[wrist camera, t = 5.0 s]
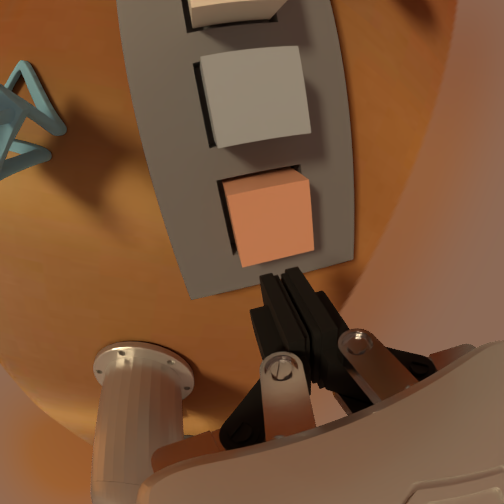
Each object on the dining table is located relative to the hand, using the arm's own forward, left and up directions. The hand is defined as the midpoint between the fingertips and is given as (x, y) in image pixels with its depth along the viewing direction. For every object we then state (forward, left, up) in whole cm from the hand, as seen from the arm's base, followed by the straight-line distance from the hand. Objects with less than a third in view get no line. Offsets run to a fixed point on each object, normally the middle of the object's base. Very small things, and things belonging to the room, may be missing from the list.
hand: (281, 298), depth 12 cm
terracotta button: (0, -1, -10) cm, 10 cm away
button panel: (+8, -1, -12) cm, 15 cm away
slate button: (+8, -1, -9) cm, 13 cm away
